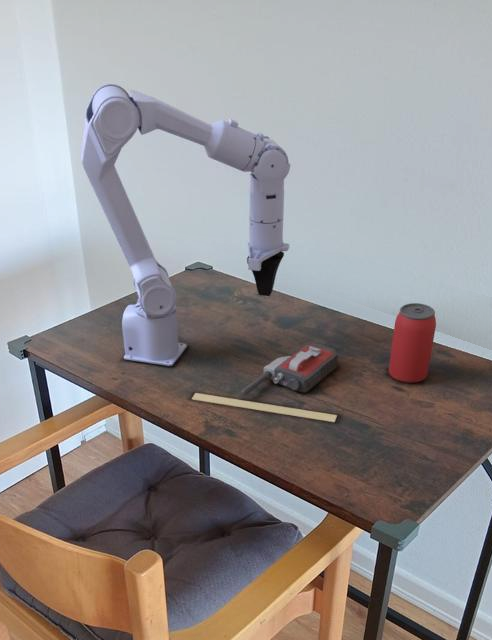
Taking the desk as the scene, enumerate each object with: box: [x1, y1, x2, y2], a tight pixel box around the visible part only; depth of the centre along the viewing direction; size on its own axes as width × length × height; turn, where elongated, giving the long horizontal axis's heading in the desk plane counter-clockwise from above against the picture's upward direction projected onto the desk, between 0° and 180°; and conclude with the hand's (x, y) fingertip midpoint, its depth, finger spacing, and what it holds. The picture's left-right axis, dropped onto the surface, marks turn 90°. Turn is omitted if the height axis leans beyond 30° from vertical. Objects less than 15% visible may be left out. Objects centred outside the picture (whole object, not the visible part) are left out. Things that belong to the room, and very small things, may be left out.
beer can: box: [388, 302, 437, 384], centre depth 125 cm, size 7×7×12 cm
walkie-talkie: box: [240, 342, 339, 397], centre depth 127 cm, size 9×4×20 cm
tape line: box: [191, 392, 338, 423], centre depth 122 cm, size 24×2×1 cm, turn 71°
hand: (264, 294), depth 134 cm, fingers closed
